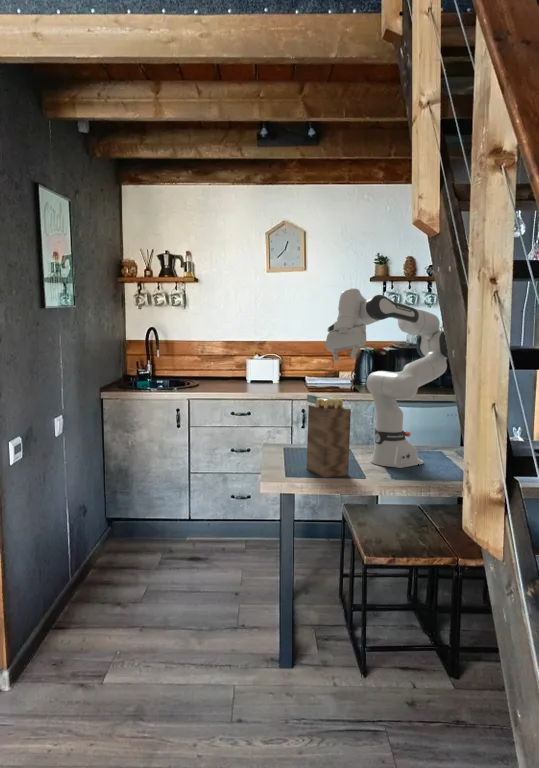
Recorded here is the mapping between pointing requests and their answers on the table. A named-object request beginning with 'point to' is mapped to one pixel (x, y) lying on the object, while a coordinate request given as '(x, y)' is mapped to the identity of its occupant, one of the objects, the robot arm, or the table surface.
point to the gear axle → (325, 401)
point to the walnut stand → (328, 441)
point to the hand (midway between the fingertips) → (344, 359)
